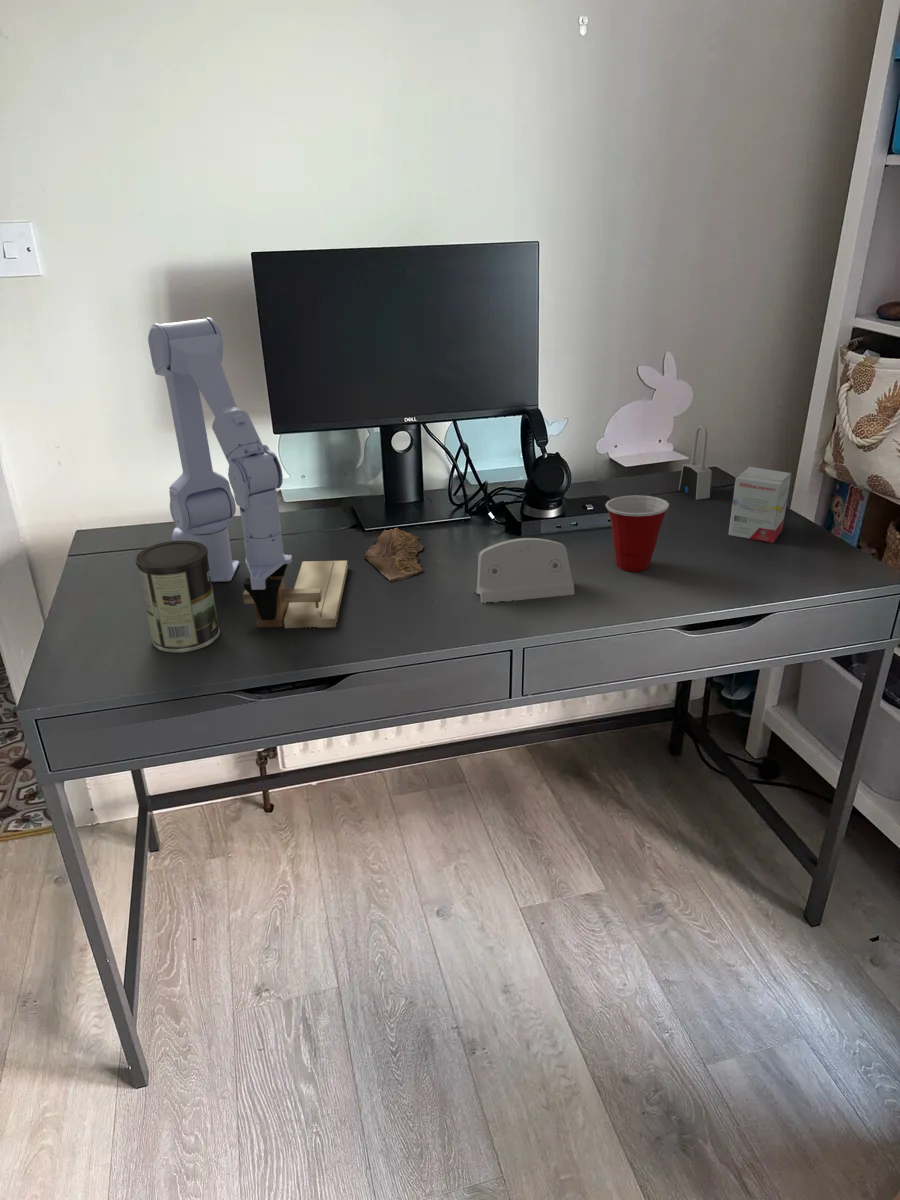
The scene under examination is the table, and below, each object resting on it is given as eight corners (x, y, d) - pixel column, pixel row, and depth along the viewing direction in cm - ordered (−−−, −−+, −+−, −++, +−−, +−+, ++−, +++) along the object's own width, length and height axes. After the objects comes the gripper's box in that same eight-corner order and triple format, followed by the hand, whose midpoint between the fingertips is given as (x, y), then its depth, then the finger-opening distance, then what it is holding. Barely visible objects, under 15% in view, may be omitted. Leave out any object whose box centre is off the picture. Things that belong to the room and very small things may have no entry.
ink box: (783, 529, 169) (793, 471, 164) (772, 544, 163) (782, 484, 157) (739, 521, 173) (747, 464, 168) (726, 535, 167) (735, 476, 161)
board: (284, 628, 136) (283, 619, 135) (303, 569, 156) (302, 561, 155) (335, 627, 136) (335, 618, 135) (347, 568, 156) (347, 560, 155)
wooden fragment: (423, 582, 151) (423, 576, 150) (360, 584, 150) (359, 578, 150) (423, 527, 174) (423, 522, 173) (368, 528, 173) (368, 523, 173)
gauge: (244, 627, 136) (239, 586, 133) (250, 612, 141) (245, 572, 137) (320, 625, 136) (317, 585, 133) (324, 611, 141) (320, 571, 138)
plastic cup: (630, 548, 162) (636, 487, 156) (675, 567, 154) (682, 504, 149) (588, 562, 156) (592, 500, 151) (632, 583, 148) (638, 518, 143)
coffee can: (207, 614, 140) (194, 534, 134) (229, 640, 133) (217, 557, 126) (143, 632, 135) (126, 549, 129) (162, 660, 128) (146, 574, 121)
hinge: (479, 604, 142) (475, 543, 141) (473, 600, 147) (469, 542, 146) (576, 594, 145) (573, 534, 144) (568, 591, 150) (564, 533, 148)
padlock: (711, 497, 185) (720, 428, 178) (694, 500, 184) (703, 431, 177) (693, 487, 191) (701, 420, 184) (677, 490, 190) (684, 422, 183)
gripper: (280, 550, 125) (290, 632, 131) (295, 513, 138) (302, 589, 144) (232, 551, 125) (243, 633, 131) (250, 514, 138) (260, 590, 144)
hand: (271, 610), depth 138 cm, fingers closed on gauge, 5 cm apart
